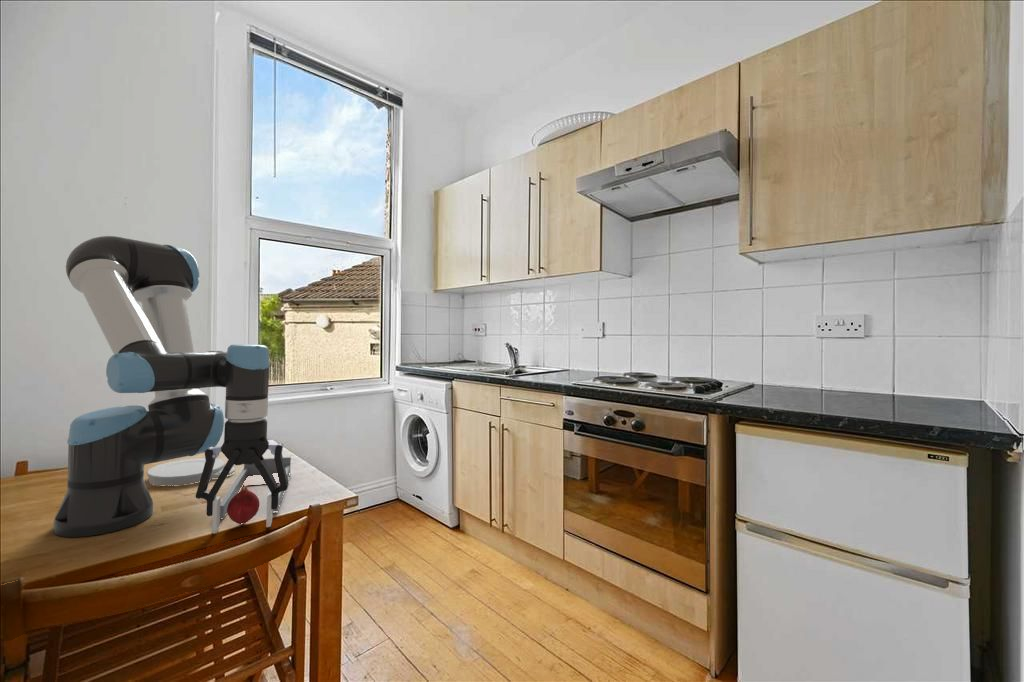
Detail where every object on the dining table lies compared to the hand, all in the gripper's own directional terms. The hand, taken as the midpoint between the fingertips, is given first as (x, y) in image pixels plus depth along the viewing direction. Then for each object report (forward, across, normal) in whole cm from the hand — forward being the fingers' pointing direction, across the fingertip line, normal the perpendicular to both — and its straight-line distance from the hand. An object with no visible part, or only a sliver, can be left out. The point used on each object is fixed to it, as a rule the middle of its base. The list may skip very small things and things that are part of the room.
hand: (243, 527), depth 89 cm
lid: (+1, -19, +40) cm, 44 cm away
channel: (0, 0, +20) cm, 20 cm away
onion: (0, 0, +2) cm, 2 cm away
